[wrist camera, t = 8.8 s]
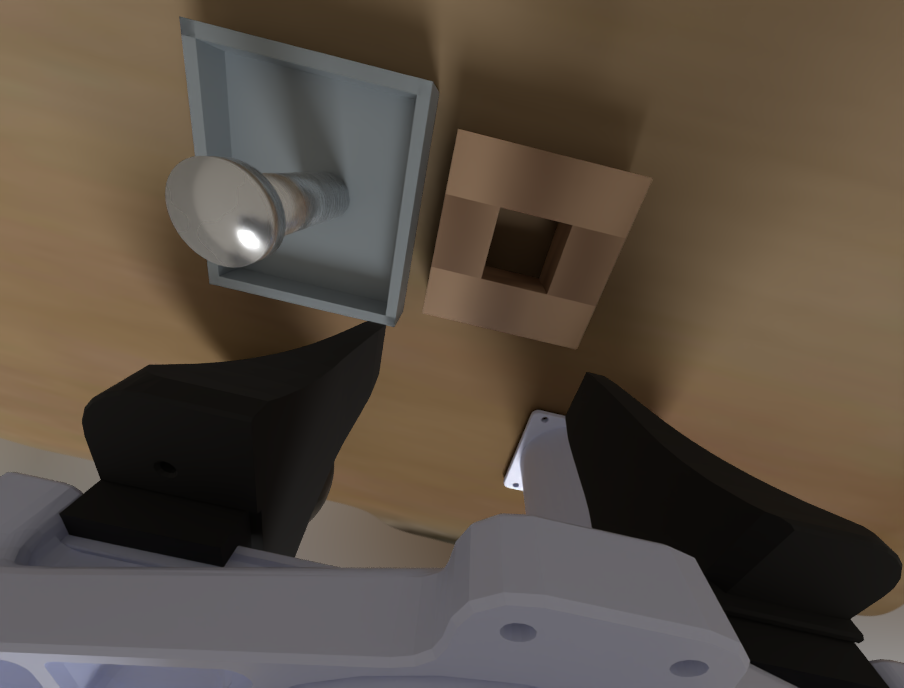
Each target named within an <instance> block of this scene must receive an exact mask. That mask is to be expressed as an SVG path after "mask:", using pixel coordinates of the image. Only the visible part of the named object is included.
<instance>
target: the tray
mask: <svg viewBox="0 0 904 688" xmlns="http://www.w3.org/2000/svg"><path fill="white" fill-rule="evenodd" d="M179 18H180V26H181V35H182V44H183V53H184V62H185V71H186V79H187V88H188V97H189V106H190V115H191V124H192V133H193V141H194V150H195V156H215V157H230V158H235V159H238V160H241V161H243V162H246V163H248V164H249V165H251V166H253V167H254V168H256V169H257V170H258V171H259V172H261V173H288V172H330V173H333V174H335V175H337V176H338V177H339V178H341V179H342V180H343V182H344V183H345V185H346V186H347V189H348V191H349V197H350V202H349V206H348V209H347V211H346V212H345V213H344V214H343V215H342V216H340V217H338V218H335V219H332V220H329V221H327V222H324V223H321V224H318V225H315V226H312V227H309V228H306V229H303V230H300V231H297V232H294V233H292V234H289V235H286V236H284V238H283V241H282V243H281V245H280V246H279V248H278V249H277V250H276V251H275V252H274V253H273V254H272V255H270V256H269V257H266V258H264V259H262V260H259V261H257V262H254V263H252V264H250V265H247V266H243V267H236V268H234V267H225V266H221V265H217V264H215V263H212V262H210V261H208V260H207V265H208V274H209V283H210V284H213V285H217V286H221V287H226V288H230V289H234V290H238V291H243V292H247V293H251V294H255V295H260V296H264V297H268V298H273V299H277V300H281V301H285V302H290V303H294V304H298V305H302V306H307V307H311V308H315V309H319V310H324V311H328V312H332V313H336V314H341V315H345V316H349V317H354V318H358V319H362V320H366V321H371V322H376V323H380V324H384V325H388V326H392V327H395V325H396V323H397V321H398V319H399V318H400V316H401V314H402V312H403V308H404V302H405V296H406V290H407V284H408V278H409V272H410V266H411V260H412V254H413V248H414V242H415V236H416V230H417V224H418V218H419V212H420V206H421V200H422V194H423V188H424V182H425V176H426V170H427V164H428V158H429V152H430V146H431V140H432V134H433V128H434V122H435V116H436V110H437V104H438V98H439V91H438V90H437V88H436V86H435V84H434V83H433V81H429V80H425V79H421V78H417V77H413V76H409V75H405V74H401V73H398V72H394V71H390V70H386V69H382V68H378V67H374V66H370V65H366V64H362V63H359V62H355V61H351V60H347V59H343V58H339V57H335V56H331V55H327V54H324V53H320V52H316V51H312V50H308V49H304V48H300V47H296V46H292V45H289V44H285V43H281V42H277V41H273V40H269V39H265V38H261V37H257V36H254V35H250V34H246V33H242V32H238V31H234V30H230V29H226V28H222V27H218V26H215V25H211V24H207V23H203V22H199V21H195V20H191V19H187V18H183V17H180V16H179Z"/></svg>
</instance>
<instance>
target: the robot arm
mask: <svg viewBox="0 0 904 688" xmlns="http://www.w3.org/2000/svg"><path fill="white" fill-rule="evenodd" d="M385 329H386V325H384V324H380V323H376V322H371V321H367V322H364V323H362V324H360V325H357V326H355V327H353V328H351V329H348V330H346V331H344V332H341V333H339V334H337V335H335V336H332V337H329V338H327V339H324V340H321V341H319V342H316V343H313V344H310V345H307V346H304V347H301V348H298V349H294V350H290V351H286V352H282V353H278V354H273V355H267V356H261V357H256V358H250V359H244V360H235V361H227V362H215V363H201V364H168V365H148V366H146V367H144V368H143V369H141V370H139V371H138V372H136V373H134V374H132V375H131V376H129V377H127V378H126V379H124V380H122V381H121V382H119V383H117V384H116V385H114V386H112V387H110V388H109V389H107V390H105V391H104V392H102V393H100V394H99V395H97V396H95V397H94V398H92V399H91V401H90V402H89V403H88V404H87V405H86V407H85V409H84V414H83V418H82V425H83V430H84V435H85V438H86V441H87V444H88V446H89V449H90V452H91V455H92V457H93V460H94V463H95V465H96V468H97V471H98V473H99V476H100V479H101V480H100V481H99V482H97V483H96V484H95V485H94V486H93V487H91V488H90V489H89V490H88V491H86V492H85V493H84V494H83V493H82V492H81V491H80V490H78V489H77V488H75V487H74V486H72V485H69V484H67V483H64V482H59V481H54V480H49V479H45V478H40V477H36V476H31V475H26V474H22V473H17V472H7V473H5V474H4V475H2V476H0V688H904V663H901V662H897V661H892V660H883V659H880V660H872V661H868V660H867V658H866V657H865V656H864V654H863V653H862V652H861V651H860V649H859V648H858V647H857V646H856V644H855V643H854V642H857V643H860V642H862V641H863V640H864V638H863V634H862V633H861V632H860V631H859V629H858V628H857V627H856V626H855V625H854V623H853V622H852V621H851V618H852V617H854V616H855V615H857V614H858V613H860V612H861V611H863V610H864V609H866V608H867V607H869V606H870V605H872V604H873V603H875V602H876V601H878V600H879V599H881V598H882V597H884V596H885V595H886V594H887V593H889V592H890V591H891V590H892V589H893V588H894V587H895V586H896V584H897V583H898V581H899V580H900V578H901V571H902V563H901V561H900V559H899V557H898V555H897V554H896V553H895V552H894V551H893V550H892V549H890V548H889V547H888V546H887V545H886V544H885V543H884V542H883V541H882V540H881V539H880V538H879V537H878V536H877V535H875V534H874V533H873V532H871V531H870V530H868V529H867V528H865V527H863V526H861V525H859V524H856V523H854V522H852V521H849V520H847V519H845V518H842V517H840V516H837V515H835V514H833V513H830V512H828V511H826V510H823V509H821V508H819V507H816V506H814V505H811V504H809V503H807V502H804V501H802V500H800V499H798V498H796V497H794V496H792V495H790V494H787V493H785V492H783V491H781V490H779V489H777V488H775V487H773V486H771V485H769V484H767V483H765V482H763V481H761V480H759V479H757V478H755V477H753V476H751V475H749V474H747V473H746V472H744V471H742V470H740V469H738V468H736V467H735V466H733V465H731V464H729V463H727V462H726V461H724V460H722V459H720V458H719V457H717V456H715V455H714V454H712V453H710V452H709V451H707V450H706V449H704V448H702V447H701V446H699V445H698V444H696V443H695V442H693V441H691V440H690V439H688V438H687V437H685V436H684V435H682V434H681V433H680V432H678V431H677V430H675V429H674V428H673V427H671V426H670V425H668V424H667V423H666V422H664V421H663V420H662V419H660V418H659V417H658V416H656V415H655V414H654V413H652V412H651V411H650V410H649V409H647V408H646V407H645V406H643V405H642V404H641V403H640V402H638V401H637V400H636V399H635V398H633V397H632V396H631V395H630V394H628V393H627V392H626V391H624V390H623V389H622V388H621V387H619V386H618V385H617V384H615V383H614V382H612V381H611V380H609V379H608V378H606V377H604V376H602V375H597V374H593V373H589V372H586V374H585V376H584V379H583V381H582V383H581V385H580V387H579V389H578V391H577V393H576V395H575V397H574V399H573V401H572V404H571V406H570V408H569V410H568V412H567V414H566V416H563V415H559V414H555V413H550V412H546V411H542V410H535V411H533V412H532V413H531V415H530V418H529V420H528V422H527V425H526V427H525V430H524V432H523V434H522V437H521V439H520V442H519V444H518V446H517V449H516V451H515V454H514V456H513V458H512V461H511V463H510V466H509V468H508V470H507V473H506V475H505V478H504V485H505V486H506V487H508V488H513V489H517V490H522V491H523V494H524V502H525V510H526V515H525V514H498V515H495V516H492V517H489V518H486V519H483V520H480V521H477V522H475V523H473V524H471V525H470V526H469V528H468V529H467V530H466V531H465V532H464V533H463V534H462V535H461V537H460V538H459V539H458V540H457V541H456V543H455V546H454V548H453V551H452V554H451V557H450V560H449V562H448V563H447V565H446V567H445V568H341V567H336V566H332V565H327V564H322V563H317V562H313V561H308V560H303V559H298V558H295V555H296V553H297V550H298V548H299V545H300V542H301V540H302V537H303V535H304V532H305V530H306V527H307V525H308V522H309V520H310V518H311V515H312V513H313V510H314V508H315V505H316V503H317V500H318V498H319V496H320V493H321V491H322V489H323V486H324V484H325V481H326V479H327V477H328V475H329V472H330V470H331V468H332V465H333V463H334V461H335V459H336V456H337V454H338V452H339V450H340V448H341V446H342V444H343V443H344V441H345V439H346V437H347V436H348V434H349V432H350V431H351V429H352V427H353V425H354V424H355V422H356V420H357V418H358V417H359V415H360V413H361V411H362V410H363V408H364V406H365V404H366V403H367V401H368V399H369V397H370V395H371V393H372V390H373V388H374V385H375V383H376V380H377V378H378V375H379V370H380V363H381V356H382V349H383V342H384V336H385ZM543 417H547V419H542V418H543Z"/></svg>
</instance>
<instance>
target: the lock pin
mask: <svg viewBox="0 0 904 688" xmlns="http://www.w3.org/2000/svg"><path fill="white" fill-rule="evenodd" d="M165 198H166V205H167V210H168V213H169V216H170V219H171V221H172V223H173V225H174V227H175V229H176V230H177V232H178V233H179V235H180V236H181V238H182V239H183V240H184V241H185V243H186V244H187V245H188V246H189V247H190V248H191V249H192V250H194V251H195V252H196V253H197V254H199V255H200V256H202V257H203V258H205V259H206V260H208V261H210V262H212V263H215V264H217V265H221V266H225V267H234V268H236V267H243V266H247V265H250V264H252V263H254V262H257V261H259V260H262V259H264V258H266V257H269V256H270V255H272V254H273V253H274V252H275V251H276V250H277V249H278V248H279V246H280V245H281V243H282V241H283V238H284V236H286V235H289V234H292V233H294V232H297V231H300V230H303V229H306V228H309V227H312V226H315V225H318V224H321V223H324V222H327V221H329V220H332V219H335V218H338V217H340V216H342V215H343V214H344V213H345V212H346V211H347V209H348V206H349V202H350V197H349V191H348V189H347V186H346V185H345V183H344V182H343V180H342V179H341V178H339V177H338V176H337V175H335V174H333V173H330V172H288V173H261V172H259V171H258V170H257V169H256V168H254V167H253V166H251V165H249V164H248V163H246V162H243V161H241V160H238V159H235V158H230V157H215V156H195V157H190V158H187V159H185V160H183V161H181V162H180V163H179V164H177V165H176V166H175V167H174V169H173V170H172V171H171V173H170V175H169V177H168V180H167V183H166V191H165Z"/></svg>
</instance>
